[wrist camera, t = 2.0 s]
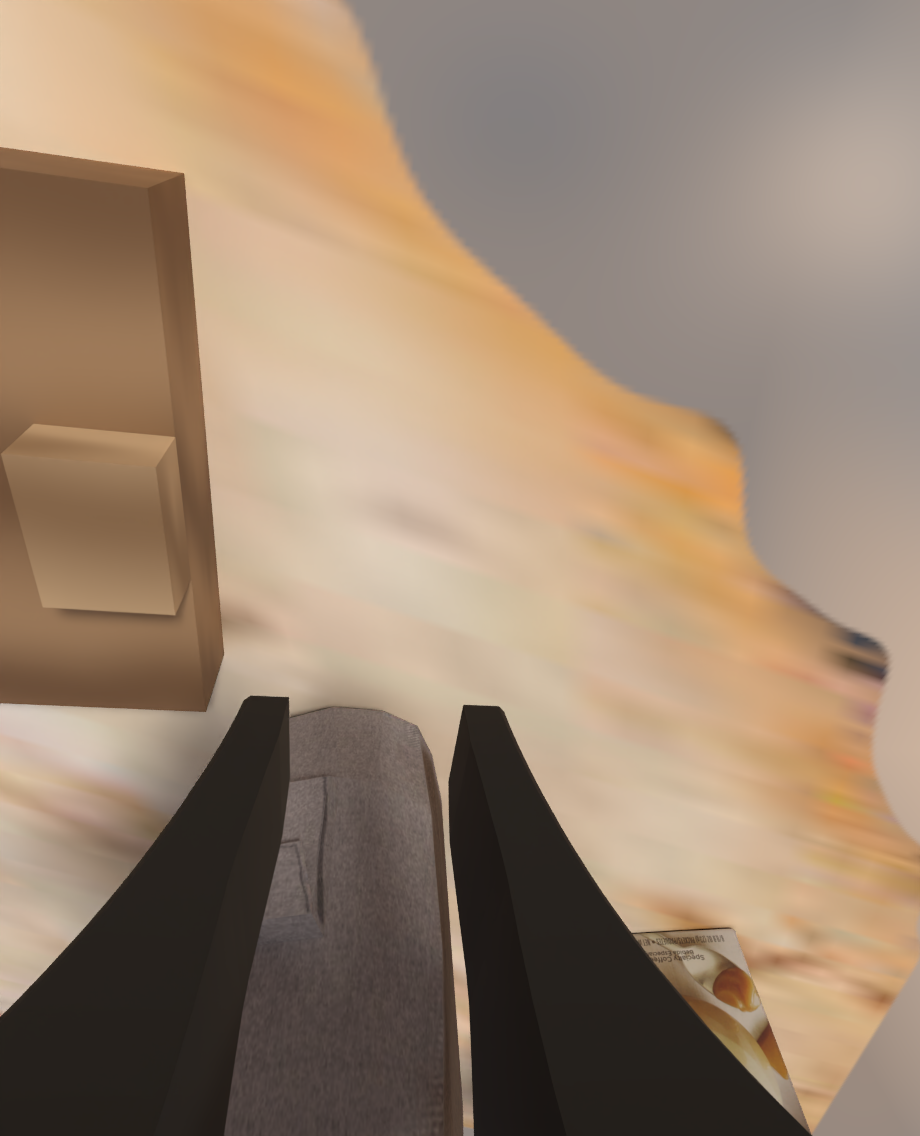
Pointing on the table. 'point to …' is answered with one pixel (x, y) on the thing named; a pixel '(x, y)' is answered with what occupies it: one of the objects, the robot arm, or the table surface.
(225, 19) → the table surface
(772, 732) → the table surface
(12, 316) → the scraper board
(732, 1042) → the coffee box
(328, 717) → the grey rounded bag
